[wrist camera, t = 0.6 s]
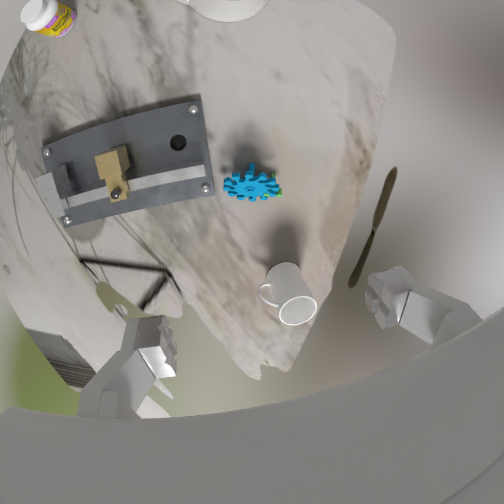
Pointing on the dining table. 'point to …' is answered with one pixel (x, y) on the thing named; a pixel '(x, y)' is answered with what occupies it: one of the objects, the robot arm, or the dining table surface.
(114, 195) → the block
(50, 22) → the supplement bottle
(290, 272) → the mug
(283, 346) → the dining table surface
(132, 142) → the bolt plate
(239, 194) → the gear
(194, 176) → the trammel bar
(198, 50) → the dining table surface
